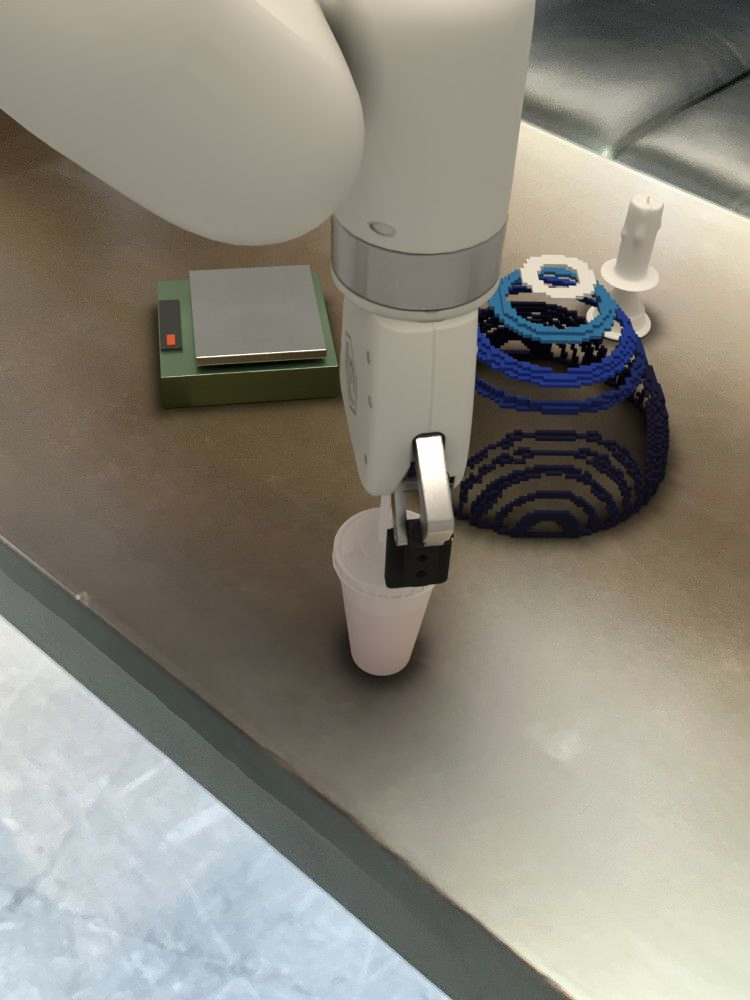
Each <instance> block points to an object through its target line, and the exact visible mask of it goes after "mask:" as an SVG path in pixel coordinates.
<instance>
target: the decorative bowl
mask: <svg viewBox="0 0 750 1000" xmlns="http://www.w3.org/2000/svg"><path fill="white" fill-rule="evenodd" d="M519 294H532V296H533V297H534V296H535V297H545V299H548V300H549V301H550V302H573V303H575V302H576V301H577V302H579V303H581V304H582V303H583V304H585V306H590V307H592V306H593V307H597V309H598V312H599V313H600V315H597V317H594V320H591V321H590V322H587V319H586V316H583V315H578V310H577V309H576V310H575V309H569V308H568V307H567V306H563V305H558V303H547V301H533V300H532V301H529V300H507V298H509V295H510V296H518V295H519ZM487 302H488V306H487V307H486V308H481V306H480V307H479V308H478V329H477V347H478V352H477V355H476V360H477V361H481V364H486V366H487V367H490V370H491V372H499V374H500V375H503V376H504V377H507V378H508V380H517V383H529V384H530V385H531V386H538V388H539V389H581V387H583V386H584V387H587V386H588V387H592V386H593V384H600V383H601V382H602V381H603V382H604V385H608V387H615V389H608V392H601V393H600V395H599V394H597V397H585V400H582V399H581V400H578V399H577V400H576V399H575V400H573V399H530V396H518V395H517V393H509V391H507V390H504V388H496V385H491V382H487V380H486V379H485V380H483V378H482V377H478V373H477V371H476V373H475V388H474V391H476V394H477V396H481V399H482V398H483V399H489V401H493V402H494V404H498V408H499V409H502V410H515V412H519V413H520V412H521V413H540V415H541V416H579V413H587V414H595V413H596V414H598V413H599V411H610V408H613V407H614V406H616V405H617V403H624V401H625V400H627V398H628V399H629V402H630V403H633V405H634V408H638V410H639V412H642V413H643V416H644V419H645V423H646V424H645V426H646V428H645V429H646V430H645V432H646V434H645V437H646V440H645V444H646V445H645V449H644V450H645V455H646V456H647V457H645V460H644V463H643V464H644V468H643V470H642V467H641V465H639V460H638V459H637V460H636V457H633V454H631V449H630V448H628V447H627V445H621V443H620V442H618V441H617V439H605V438H604V439H603V434H602V433H600V431H599V430H586V431H585V432H577V430H576V429H534V432H527V431H525V432H523V429H513V432H505V433H504V437H502V438H500V440H496V443H488V444H487V446H483V449H479V450H478V452H474V454H473V455H471V454H470V457H468V458H467V464H466V469H465V473H464V476H466V472H467V468H469V470H470V471H471V470H472V471H474V470H475V466H476V465H479V464H480V462H484V459H489V451H496V450H497V448H500V450H502V451H506V450H507V451H510V448H514V447H515V442H523V439H534V442H567V443H569V442H572V443H574V442H575V443H576V441H577V440H585V442H586V443H596V445H597V446H603V447H604V449H607V452H611V454H609V453H599V451H598V450H592V449H591V447H577V450H575V449H574V450H572V449H571V450H569V449H567V450H566V449H531V447H530V446H517V449H513V450H512V455H510V452H500V454H499V455H496V456H495V458H493V457H492V458H491V461H490V462H491V463H483V464H482V465H481V466H478V467H477V474H476V475H475V473H474V472H469V474H468V477H464V480H461V482H460V483H459V492H458V493H459V494H458V506H457V507H454V505H453V504H452V509H453V516H454V517H456V519H457V520H468V525H469V526H477V529H492V530H493V532H497V535H509V537H510V538H577V539H578V538H581V535H583V536H591V535H592V533H598V532H599V530H609V529H610V527H617V524H619V525H620V522H626V521H627V519H629V518H630V516H633V514H635V513H640V510H641V507H642V506H643V505H648V504H649V502H650V499H651V498H652V497H654V495H656V494H657V492H658V489H659V487H660V484H661V483H662V481H664V479H665V476H666V469H667V465H668V456H669V454H668V451H669V448H670V433H671V432H670V425H669V423H670V420H669V418H670V416H669V413H668V409H667V405H666V402H667V400H666V397H665V394H664V391H663V388H662V385H661V383H659V382H658V378H657V375H656V372H655V369H654V366H653V364H649V359H648V357H647V354H646V351H645V347H644V344H643V341H642V337H638V334H636V333H635V330H633V326H632V323H631V320H630V318H628V317H627V315H625V312H624V311H622V309H621V308H619V305H618V304H616V300H615V299H611V297H610V291H607V288H605V286H604V284H600V282H599V280H598V279H596V277H595V272H594V269H590V268H589V265H588V262H584V261H583V259H579V258H578V257H566V255H565V254H540V256H529V258H526V259H525V263H522V267H520V268H519V269H514V271H511V272H510V273H507V275H504V276H503V277H502V278H501V277H500V283H499V286H498V288H497V290H496V292H495V293H494V295H493V296H492V297H491V298H490V299H489V300H488V301H487ZM487 302H486V303H485V304H487ZM613 320H615V321H617V323H619V324H620V327H623V328H621V331H620V332H621V335H622V336H619V340H618V342H619V344H616V345H615V346H614V350H611V352H610V355H608V350H609V349H608V347H606V345H605V344H603V343H604V338H605V337H604V335H605V332H611V329H612V328H611V327H614V321H613ZM509 341H510V342H513V341H517V342H518V341H519V342H520V343H521V344H523V346H524V347H526V349H502V347H503V346H505V344H509ZM553 344H555V346H558V349H560V354H559V356H554V355H555V354H554V351H552V347H553ZM567 345H569V349H570V351H572V352H571V353H572V354H571V358H568V356H569V352H568V351H566V350H567ZM576 345H578V347H579V348H580V352H581V353H584V354H583V355H582V359H581V362H579V360H580V357H579V355H577V354H578V347H576ZM594 352H596V354H594ZM515 357H516V358H515ZM517 357H519V358H521V357H523V358H528V359H529V360H552V362H557V363H558V362H559V364H560V365H566V366H567V370H566V372H567V373H552V371H553V370H552V367H547V366H546V367H544V366H543V367H540V366H539V364H531V362H530V361H518V359H517ZM633 357H634V358H633ZM640 385H642V387H643V388H641V391H637V389H638V388H639V386H640ZM645 399H646V400H645ZM644 400H645V401H644ZM644 405H645V406H644ZM610 455H611V457H612V458H614V460H615V461H617V463H618V464H620V465H621V466H623V469H626V471H622V468H618V467H616V465H615V464H614V465H613V462H612V459H610ZM516 456H517V457H519V456H521V458H517V457H516ZM535 456H536V457H537V456H538V457H573V459H574V460H585V465H586V466H592V468H593V469H595V470H596V472H598V473H599V474H600V475H606V477H608V478H609V480H611V481H612V483H615V485H616V486H618V488H617V489H618V492H620V497H622V500H621V508H623V510H622V509H619V507H617V501H615V499H614V498H613V493H610V491H609V490H607V489H606V487H603V484H602V485H601V484H600V482H598V481H597V479H596V478H595V479H593V474H592V473H590V471H589V470H584V471H583V469H582V467H575V464H546V463H545V464H543V463H542V464H540V463H539V464H537V463H536V464H533V466H525V467H524V469H512V471H511V472H508V473H507V475H499V476H498V478H497V477H496V478H494V480H491V481H490V483H486V484H485V489H480V494H476V495H475V500H471V504H470V508H469V513H463V509H464V504H468V503H469V490H473V489H474V485H483V482H484V481H483V476H487V475H488V473H492V471H496V470H497V465H499V467H500V468H504V467H505V465H526V464H527V460H528V459H529V460H530V459H532V460H533V459H535ZM587 457H591V458H587ZM582 472H583V473H582ZM625 473H626V475H629V477H630V478H632V480H633V481H634V482H633V485H629V484H628V480H627V479H625ZM542 474H545V477H563V474H564V479H565V480H575V483H583V486H590V490H589V492H590V494H592V495H593V497H596V499H597V500H599V501H600V503H605V511H607V515H608V517H607V518H606V520H604V521H603V523H602V516H601V515H599V513H598V512H596V511H597V510H596V507H593V504H590V502H589V501H587V499H586V498H583V496H582V495H576V492H575V493H573V491H572V490H565V489H564V490H563V489H561V490H555V489H553V490H549V489H541V490H540V489H539V490H538V489H536V490H535V492H527V493H526V495H518V497H517V498H516V497H514V498H513V500H512V501H511V500H509V503H505V504H504V506H500V509H499V511H495V515H494V520H493V521H494V522H484V519H483V517H484V516H487V515H489V510H493V509H494V505H497V504H498V503H499V499H503V498H504V494H503V492H504V491H507V490H508V488H512V487H513V485H521V482H523V483H524V482H526V483H527V482H528V483H529V481H530V480H540V479H542V478H543V476H542ZM407 477H416V470H415V463H414V462H411V465H410V468H409V469H408V471H407ZM644 481H645V482H644ZM452 490H453V489H451V491H452ZM632 490H633V492H635V494H634V495H635V497H637V498H636V500H635V501H633V502H632V501H631V499H632V495H633V492H632ZM544 499H545V500H569V502H570V503H573V505H575V506H576V508H580V509H581V508H582V513H583V514H585V515H586V517H588V519H587V522H586V525H580V523H581V520H580V518H577V515H574V513H573V512H571V510H569V509H534V510H533V512H524V515H523V514H521V515H520V518H519V520H515V524H514V525H511V526H510V525H504V520H505V519H508V518H509V514H510V513H513V512H514V508H522V507H523V505H527V502H533V503H534V502H535V501H536V500H544ZM541 522H555V525H558V527H559V528H560V527H561V529H562V530H563V531H528V530H532V528H533V527H536V526H537V525H540V524H541Z"/></svg>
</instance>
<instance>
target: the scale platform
mask: <svg viewBox="0 0 750 1000" xmlns="http://www.w3.org/2000/svg"><path fill="white" fill-rule="evenodd" d="M311 273H312V271H311V266H310V264H291V265H274V266H253V267H234V268H233V267H232V268H216V269H195V270H189V271H188V277H189V278H188V280H189V281H190V294H191V307H192V320H193V333H194V346H195V359H196V365H197V366H202V365H218V364H234V363H250V362H266V361H282V360H298V359H314V358H326V357H327V348H326V343H325V339H324V334H323V329H322V324H321V319H320V314H319V309H318V304H317V299H316V294H315V289H314V284H313V279H312V274H311Z"/></svg>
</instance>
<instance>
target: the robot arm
mask: <svg viewBox="0 0 750 1000" xmlns="http://www.w3.org/2000/svg"><path fill="white" fill-rule="evenodd" d="M536 1H537V0H0V110H1V111H3V112H4V113H5V114H7V115H8V116H9V117H11V118H12V119H13V120H14V121H15V122H17V123H18V124H19V125H21V127H23V128H24V129H26V130H27V131H28V132H29V133H31V134H32V135H33V136H35V137H36V138H38V139H39V140H40V141H42V142H43V143H44V144H46V145H48V146H49V147H50V148H52V149H53V150H55V151H56V152H58V153H59V154H61V155H62V156H64V157H66V158H67V159H69V160H70V161H71V162H73V163H75V164H76V165H78V166H79V167H81V168H82V170H85V171H86V172H88V173H90V174H91V175H92V176H94V177H96V178H97V179H99V180H100V181H102V182H103V183H104V184H106V185H108V186H110V187H111V188H113V189H114V190H116V191H117V192H118V193H121V194H122V195H123V196H125V197H127V198H128V199H130V200H131V201H133V202H134V203H136V204H137V205H139V206H141V207H142V208H144V209H145V210H147V211H148V212H150V213H152V214H153V215H156V216H157V217H159V218H161V219H162V220H164V221H166V222H168V223H170V224H172V225H174V226H176V227H178V228H179V229H182V230H184V231H186V232H189V233H192V234H195V235H197V236H199V237H203V238H205V239H208V240H211V241H215V242H219V243H223V244H229V245H232V246H233V245H234V246H245V247H261V246H269V245H277V244H282V243H285V242H288V241H291V240H295V239H298V238H300V237H302V236H304V235H306V234H308V233H309V232H311V231H313V230H315V229H317V228H318V227H319V226H321V225H322V224H323V223H325V222H326V221H327V220H328V219H329V218H330V275H331V279H332V281H333V284H334V286H335V288H336V289H337V290H338V291H339V292H340V293H341V294H342V295H343V304H342V321H341V322H342V323H341V339H340V340H341V341H340V351H339V353H340V354H339V382H340V383H339V384H340V389H341V396H342V402H343V407H344V411H345V417H346V421H347V426H348V433H349V437H350V441H351V446H352V450H353V454H354V458H355V464H356V469H357V473H358V477H359V481H360V483H361V485H362V487H363V489H364V490H365V491H366V492H367V493H368V494H369V495H371V496H372V497H379V496H381V495H391V507H392V517H393V528H391V529H387V537H386V554H385V572H384V578H385V583H386V586H387V587H388V588H390V589H395V588H404V587H422V586H428V585H434V584H436V585H441V584H444V583H446V582H447V581H448V578H449V572H450V562H451V554H452V547H453V542H454V538H455V535H454V534H455V516H453V509H452V505H453V503H452V490H454V489H456V488H457V487H458V486H459V485H460V482H461V481H463V479H464V476H465V475H464V473H465V469H466V470H467V467H466V464H467V458H469V451H470V444H471V435H472V426H473V425H472V424H473V416H474V415H473V413H474V401H475V390H474V388H475V373H476V372H477V358H476V355H477V352H478V347H477V329H478V324H479V323H478V308H479V307H480V308H481V307H482V306H484V305H485V304H487V303H486V302H488V300H489V299H490V298H491V297H492V296H493V295H494V293H495V292H496V290H497V288H498V286H499V283H500V281H501V275H502V268H503V262H504V261H503V260H504V255H505V254H504V252H505V245H506V240H507V239H506V238H507V230H508V223H509V222H508V221H509V217H510V216H509V214H510V213H509V211H510V207H511V206H510V205H511V197H512V192H513V191H512V190H513V181H514V177H515V167H516V161H517V153H518V145H519V144H518V143H519V139H520V138H519V137H520V129H521V122H522V116H523V115H522V114H523V107H524V99H525V92H526V85H527V76H528V70H529V69H528V67H529V62H530V54H531V46H532V39H533V33H534V32H533V31H534V23H535V13H536ZM411 462H414V463H415V470H416V477H408V476H407V477H405V476H406V474H408V469H409V468H410V465H411ZM451 489H452V490H451ZM413 492H414V493H415V492H418V497H419V506H420V512H419V513H420V514H419V515H420V517H419V518H418V519H408V520H407V514H406V510H407V504H406V493H413Z"/></svg>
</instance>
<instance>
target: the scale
mask: <svg viewBox="0 0 750 1000" xmlns="http://www.w3.org/2000/svg"><path fill="white" fill-rule="evenodd" d="M311 274H312V279H313V284H314V289H315V294H316V299H317V304H318V309H319V314H320V319H321V324H322V329H323V334H324V339H325V343H326V348H327V357H326V358H314V359H298V360H282V361H266V362H250V363H234V364H218V365H202V366H197V365H196V359H195V346H194V333H193V320H192V307H191V294H190V281H189V279H174V280H171V279H170V280H157V281H156V296H157V297H156V298H157V299H156V300H157V301H156V303H157V318H158V319H157V323H158V324H157V325H158V346H159V347H158V348H159V367H160V368H159V371H160V381H161V393H162V401H163V408H164V409H177V408H189V407H204V406H220V405H232V404H233V405H234V404H247V403H262V402H264V403H265V402H277V401H291V400H307V399H308V400H310V399H322V398H324V399H325V398H337V397H338V388H339V386H338V384H339V364H338V363H339V362H338V359H337V354H336V350H335V344H334V340H333V336H332V334H333V333H332V331H331V330H332V329H331V325H330V320H329V316H328V311H327V307H326V302H325V297H324V293H323V292H324V291H323V288H322V283H321V278H320V273H319V272H311Z"/></svg>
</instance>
